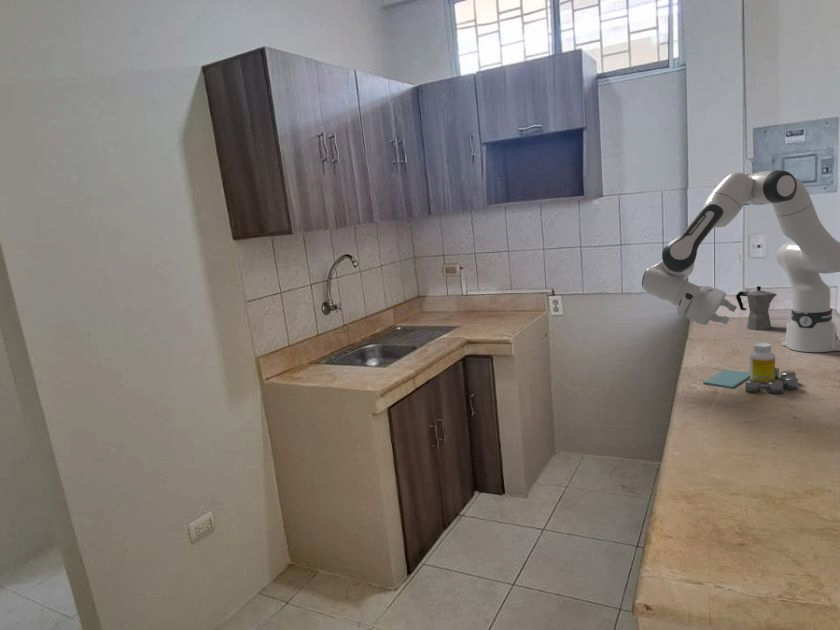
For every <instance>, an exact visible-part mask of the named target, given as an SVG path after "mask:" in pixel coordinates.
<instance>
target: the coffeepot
mask: <svg viewBox="0 0 840 630" xmlns="http://www.w3.org/2000/svg"><path fill="white" fill-rule="evenodd" d="M776 296H778V294H777V293H774V292H771V291H767V290H762V287H761V285H758V286H756V290H754V291H743V290H742V291H739V292H738V293H737V294H735V299H736V300H737V301H736V302H737V303H738V305H739V309H740V310H741V311H746V310H747V309H749V313H748V319H747V324H746V327H747V329H749V330H752V331H753V330H755V331H767V330H771V329H772V325H771V324H772V323H771V319H770V314H769V309H770V305H771V302H772V301H773V300H774V298H775V297H776ZM742 297H746V298H747V303H748V308H746V307H744V304H743V302H742Z"/></svg>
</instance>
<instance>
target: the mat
mask: <svg viewBox="0 0 840 630" xmlns="http://www.w3.org/2000/svg"><path fill="white" fill-rule="evenodd" d="M749 379H750V371H749V372H748V371H747V372H746V371H741V370H733V369H726V368H725V369H723V370H721V371H720V372H718V373H716V374H714V375H713V376H711V377H710V378H707V379H706V380H705V381H703V385H708V386H709V385H710V386H715V387H721V388H728V389H735V388H736V387H737V386H739V385H740V384H742V383H744V382H745V381H746V380H749Z"/></svg>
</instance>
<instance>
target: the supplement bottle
mask: <svg viewBox="0 0 840 630" xmlns="http://www.w3.org/2000/svg"><path fill="white" fill-rule="evenodd" d="M753 350H754V351H752V352H751V353H750V354H749V362H750V363H749V370H750V371H749V373H750V378H749V380H758V381H760V382H761V388H767V382H768V381H772V380H775V368H776V355H775V354H774V352H772V351H771V350H772V344H770V343H767V342H757V343H756V342H755V343H754V344H753Z"/></svg>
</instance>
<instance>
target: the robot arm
mask: <svg viewBox="0 0 840 630" xmlns="http://www.w3.org/2000/svg"><path fill="white" fill-rule="evenodd" d="M768 204H769V205H770V204H772V207H773V211H774V213H775V216H776V218H777V221H778V224H779V226H780V230H781V233H783V235H784V236H785V237H786V238H788V239H790V240H791V241H790V242H786V243H785V242H784V243H783V244H782V245H781V246H780V247H779V248H778V249H777V252H776V261H777V264H779V266H781V268H782V269H783V270H784V272H785V273H786V274H787V276H788V277H787V278H788V279H789V282H790V284H791V289H792V309H791V313H790V315H791V318H790V319H791V321H790V322H789V323H787V325H786V334H785V340H784V341H781V346H784V347H786V348H788V349H789V350H793V351H797V352H804V353H827V352H838V351H839V352H840V337H839V336H838V327H837V325H836V324H835V323H834V321H833V311H834V310H833V308H832V307H831V288H830V287H829V285H828V284H827V283H825V281H824V280H823V279H822V278H821V276H820V274H825V275H827V274H834V273H840V242H839V241H838V240H836V238H834V236H832V235H831V234H830V232H829V231H828V230H827V229H826V228H825V226H823V224H822V223H821V220H820V218H819V216H818V214H817V212H816V209H815V206H814V204H813V201H812V198H811V196H810V194H809V191H808V189H806V187H805V184H803V182H802V181H801V180H800V179H799V178H797V177H795V176H794V175H793V174H792V173H791V172H789V171H787V170H782V169H780V170H779V169H778V170H766V171H765V170H764V171H758V172H755V173H750V174H749V173H748V174H745V173H742V172H738V171H737V172H732V173H730V174H728V175H727V176H725V177H724V178H723V179H722V180H721V181H720V182H719V183H718V184H717V185H716V186H715V187H714V188H713V190H712V191H711V192H710V194H709V195H708V196H707V198H705V201H704V202H703V203H702V205H701V207H700V209H699V212H698V214H697V215H696V217H695V218H694V219H693V221H692V222H691V223H690V224H689V225H688V226H687V228H686V229H685V230H684V232H683V233H681V235H679V236H678V237H676V238H674V239H673V240H671V241H670V242H669V243H667V244H666V245H665V247H664V248H663V250H662V252H661V258H662V259H661V260H660V261H659V262H657V263H656V264H654V265H652V266H650V267H646V269H645V271H644V273H643V275H642V281H641V287H642V289H643V291H645V292H646V293H648V294H649V295H652V296H654V297H655V298H657V299H660V300H663V301H667V302H669V303H671V304H672V305H674V306H676V310H677V311H676V314H677V315H678V316H679V317H685V318H687V319H688V320H691V321H692V322H695V323H696V324H699V325H705V326H706V325H708V324H709V323H710V322H711V321H712V322H716V323H721V324H724V325H727V324H728V322H729V321H730V317H728V316H726V315H723V316H720V315H718V314H717V313H716V312H717V311H718V309H719V308H720V306H721V307H725V308H727V309H728V311H730V312H732V313H733V312H735V311H736V309H738V308H737V307H738V306H737V305H736V304H733V303H732V302H731V301H729V299H726V296H727V293H726V292H725V291H723V290H721V289H720V288H719V289H718V288H715V287H713V286H709V285H704V286H702V285H701V286H699V285H697V284H694V283H692V282H689V281H688V280H687V279H688V278H689V276H690V275H691V274H692V273H693V270H694V268H695V261H696V258H697V255H698V248H699V246H700V245H701V244H702V242H703V241H704V240H706V237H708V235H709V233H710V232H711V231H712V230H713V229H714V228H724V227H726V226H727V225H729V224H730V222H732V221H733V220H734V219H735V218H736V217H737V215H738V214H739V213H740V211H741V210H742V209H743V207H744V206H750V205H752V206H762V205H768Z"/></svg>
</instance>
